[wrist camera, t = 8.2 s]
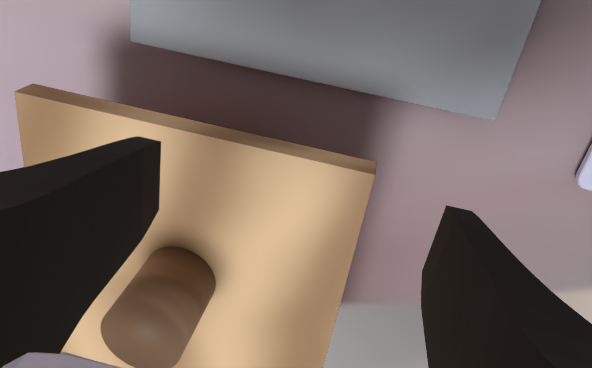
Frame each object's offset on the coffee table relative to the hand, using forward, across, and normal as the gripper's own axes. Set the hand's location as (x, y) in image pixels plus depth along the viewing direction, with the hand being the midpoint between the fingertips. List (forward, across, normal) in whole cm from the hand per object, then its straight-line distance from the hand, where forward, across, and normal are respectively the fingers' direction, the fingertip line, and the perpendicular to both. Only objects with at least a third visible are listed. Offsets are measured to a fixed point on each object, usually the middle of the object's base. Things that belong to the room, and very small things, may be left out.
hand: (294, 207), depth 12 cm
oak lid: (+6, +4, +7) cm, 10 cm away
